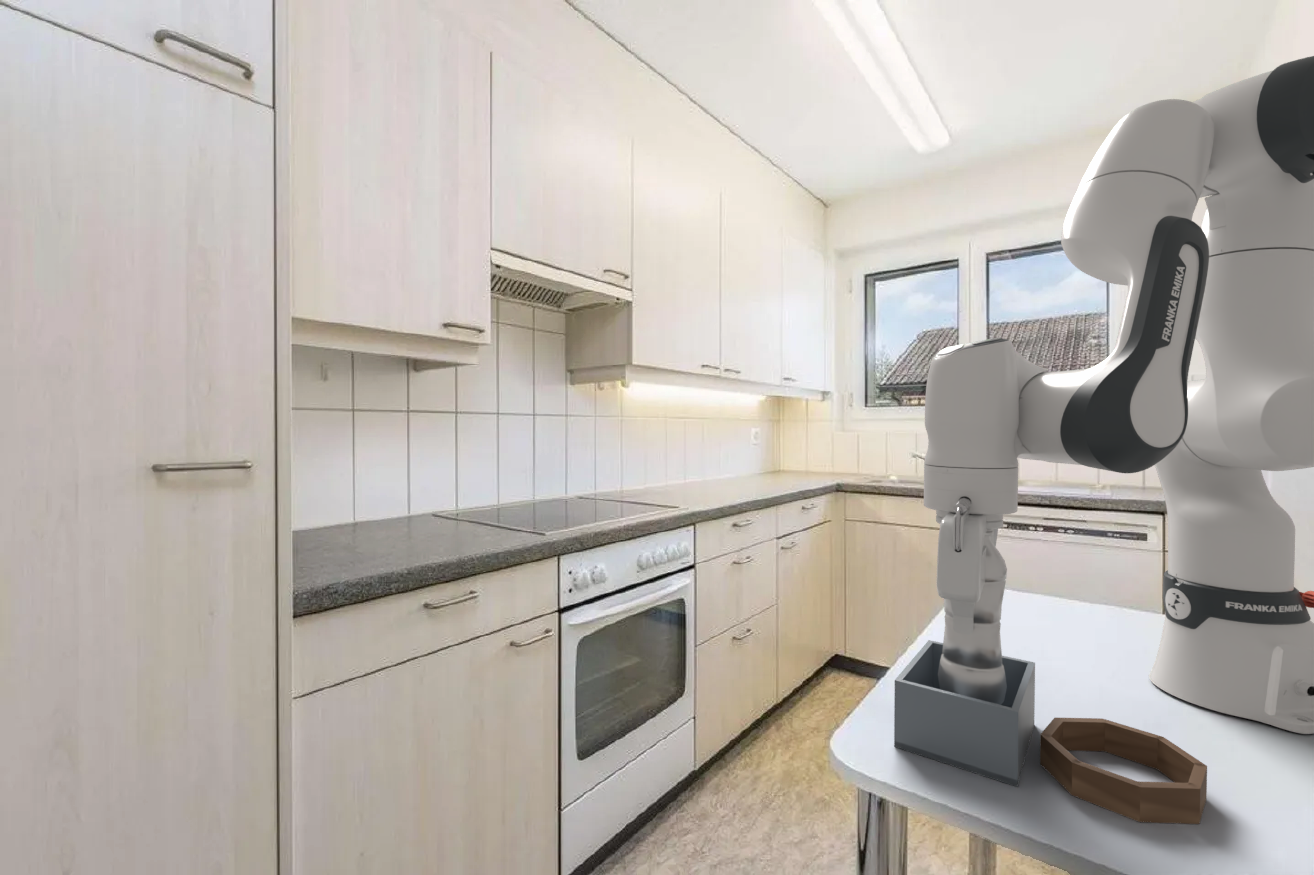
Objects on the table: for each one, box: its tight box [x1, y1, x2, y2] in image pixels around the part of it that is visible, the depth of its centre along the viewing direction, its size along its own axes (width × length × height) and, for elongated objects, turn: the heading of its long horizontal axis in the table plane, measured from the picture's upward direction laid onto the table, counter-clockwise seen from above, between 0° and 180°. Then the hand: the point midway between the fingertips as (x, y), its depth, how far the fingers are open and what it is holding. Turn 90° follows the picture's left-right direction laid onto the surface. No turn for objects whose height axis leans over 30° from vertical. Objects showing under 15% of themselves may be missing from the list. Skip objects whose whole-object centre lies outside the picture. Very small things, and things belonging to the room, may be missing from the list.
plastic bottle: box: [938, 529, 1008, 705], centre depth 62 cm, size 6×7×20 cm
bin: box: [893, 639, 1036, 788], centre depth 63 cm, size 14×11×7 cm
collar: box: [1039, 717, 1208, 825], centre depth 55 cm, size 12×12×3 cm
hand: (967, 621), depth 63 cm, fingers closed on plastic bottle, 6 cm apart
